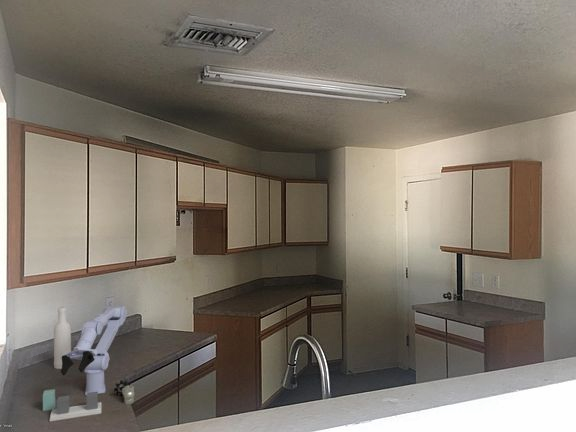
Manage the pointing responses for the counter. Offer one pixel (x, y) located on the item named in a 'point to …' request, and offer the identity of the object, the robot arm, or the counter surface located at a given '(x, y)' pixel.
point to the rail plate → (76, 408)
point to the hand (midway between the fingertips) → (71, 372)
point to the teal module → (49, 400)
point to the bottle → (61, 338)
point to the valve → (125, 392)
